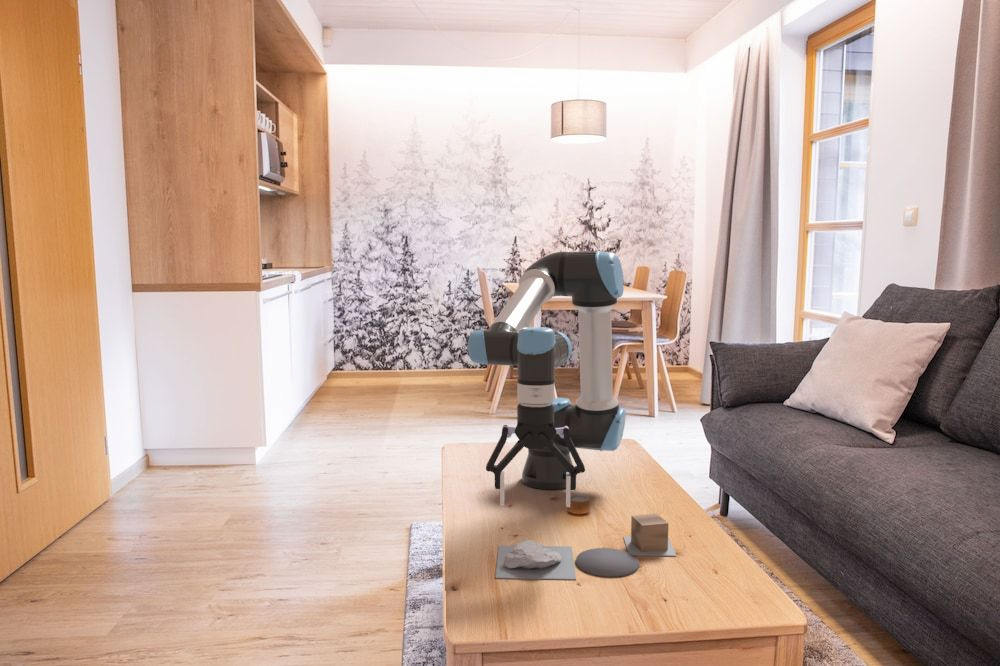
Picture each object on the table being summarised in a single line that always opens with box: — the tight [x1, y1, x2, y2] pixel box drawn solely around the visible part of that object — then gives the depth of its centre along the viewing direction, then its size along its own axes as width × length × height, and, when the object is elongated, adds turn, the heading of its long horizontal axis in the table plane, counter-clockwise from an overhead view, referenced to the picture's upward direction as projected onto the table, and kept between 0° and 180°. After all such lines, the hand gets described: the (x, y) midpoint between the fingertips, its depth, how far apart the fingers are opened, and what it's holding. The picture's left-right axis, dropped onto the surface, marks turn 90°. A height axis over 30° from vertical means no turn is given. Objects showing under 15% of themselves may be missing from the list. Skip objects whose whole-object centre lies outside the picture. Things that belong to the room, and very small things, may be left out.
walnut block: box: [630, 513, 669, 552], centre depth 162 cm, size 6×6×6 cm
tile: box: [623, 536, 677, 557], centre depth 162 cm, size 10×10×1 cm
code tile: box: [494, 544, 577, 581], centre depth 154 cm, size 16×16×1 cm
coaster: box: [575, 547, 640, 578], centre depth 154 cm, size 13×13×1 cm
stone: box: [504, 538, 562, 569], centre depth 154 cm, size 10×12×4 cm
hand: (535, 504), depth 153 cm, fingers open, 13 cm apart
